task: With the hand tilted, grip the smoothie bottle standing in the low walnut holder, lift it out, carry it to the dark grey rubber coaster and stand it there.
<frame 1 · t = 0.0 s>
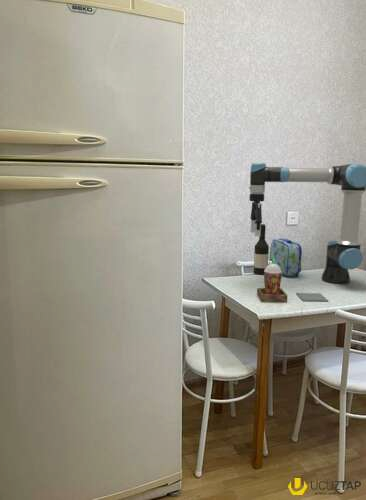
hand: (255, 234, 211), 28 cm above the table, tool pointing down, fingers open, 13 cm apart
smoothie: (271, 298, 194), resting in holder
wine bottle: (260, 273, 244), on the table
holder: (271, 298, 194), on the table
coaster: (311, 297, 196), on the table
lunch box: (284, 273, 246), on the table
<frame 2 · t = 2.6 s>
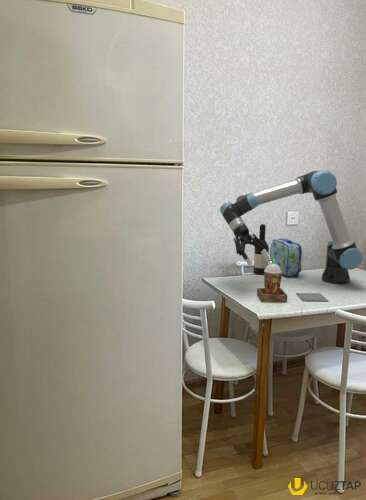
hand: (260, 262, 196), 16 cm above the table, tool tilted 45°, fingers open, 13 cm apart
nothing on the table moved.
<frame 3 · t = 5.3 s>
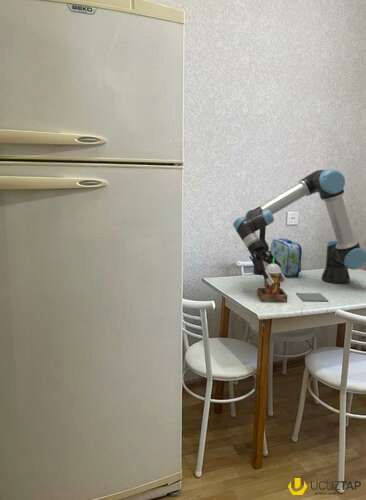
hand: (278, 282, 190), 9 cm above the table, tool tilted 45°, fingers closed on smoothie, 8 cm apart
smoothie: (271, 298, 194), resting in holder, touching gripper
everything else where it was.
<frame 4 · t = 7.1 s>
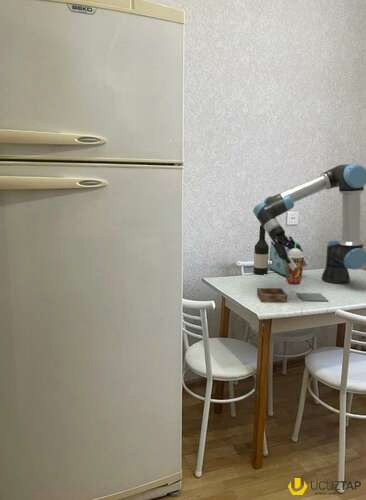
hand: (300, 267, 190), 16 cm above the table, tool tilted 45°, fingers closed on smoothie, 8 cm apart
smoothie: (293, 283, 194), point 7 cm above the table, touching gripper
everything else where it was.
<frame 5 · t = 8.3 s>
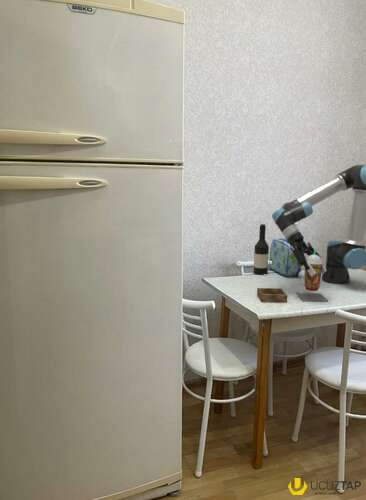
hand: (319, 273, 191), 13 cm above the table, tool tilted 45°, fingers closed on smoothie, 8 cm apart
smoothie: (311, 289, 195), point 4 cm above the table, touching gripper
everything else where it was.
when the fingers open (10 cm above the table, at t = 9.1 s): smoothie drops 1 cm, resting on coaster.
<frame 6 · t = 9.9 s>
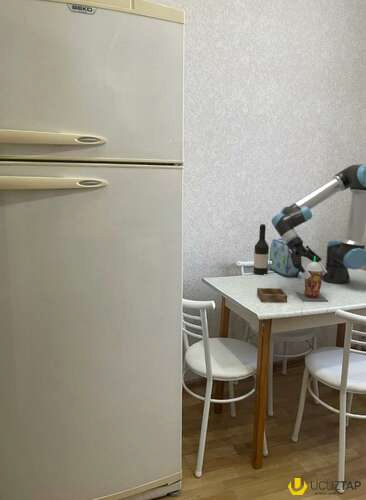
hand: (317, 275, 193), 11 cm above the table, tool tilted 45°, fingers open, 13 cm apart
smoothie: (311, 296, 196), resting on coaster
everything else where it was.
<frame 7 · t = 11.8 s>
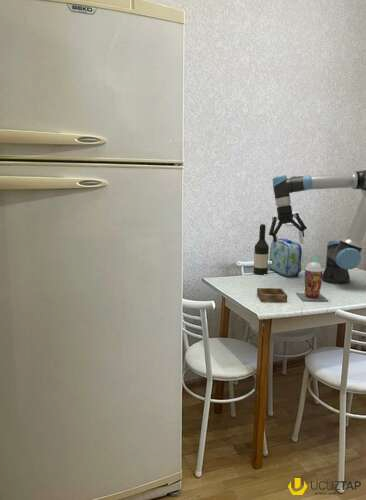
hand: (290, 246, 211), 22 cm above the table, tool pointing down, fingers open, 13 cm apart
nothing on the table moved.
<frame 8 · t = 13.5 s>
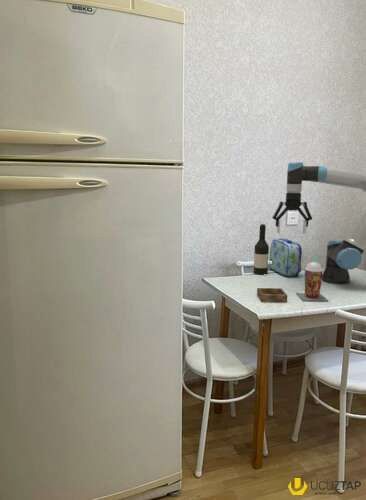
hand: (291, 233, 213), 29 cm above the table, tool pointing down, fingers open, 13 cm apart
nothing on the table moved.
at the end: smoothie inside the target area on the coaster (0.0 cm from its centre), point 0.4 cm above the coaster's base; smoothie tilted 0°; the gripper is holding nothing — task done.
